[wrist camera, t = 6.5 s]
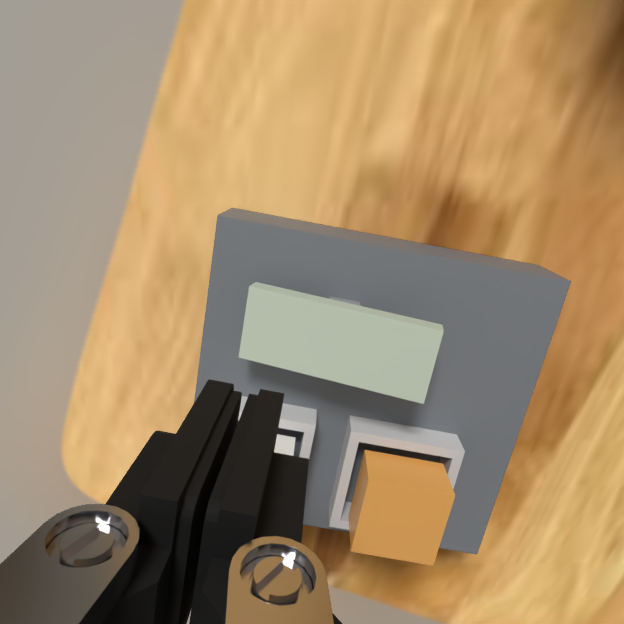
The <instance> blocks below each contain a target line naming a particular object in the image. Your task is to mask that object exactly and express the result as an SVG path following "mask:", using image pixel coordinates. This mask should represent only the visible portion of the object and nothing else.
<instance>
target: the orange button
mask: <svg viewBox="0 0 624 624" xmlns="http://www.w3.org/2000/svg"><path fill="white" fill-rule="evenodd" d="M454 499H455V493H454V491H453V488H452V485H451V483H450V480H449V477H448V475H447V472H446V470H445V467H444V464H443V463H437V462H432V461H426V460H420V459H415V458H409V457H403V456H398V455H392V454H386V453H381V452H375V451H369V450H364V454H363V459H362V463H361V467H360V471H359V475H358V479H357V483H356V487H355V491H354V495H353V500H352V504H351V508H350V512H349V532H350V549H351V552H356V553H362V554H368V555H374V556H379V557H385V558H391V559H397V560H403V561H408V562H414V563H420V564H426V565H432V566H433V565H434V562H435V559H436V556H437V552H438V549H439V546H440V543H441V540H442V537H443V533H444V530H445V527H446V524H447V521H448V518H449V514H450V511H451V508H452V505H453V502H454Z"/></svg>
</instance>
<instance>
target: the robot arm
mask: <svg viewBox="0 0 624 624" xmlns="http://www.w3.org/2000/svg"><path fill="white" fill-rule="evenodd" d="M284 394H285V393H280V392H275V391H269V390H264V389H260V391H259V394H258V395H255V394H249V395H248V398H247V401H246V403H245V406H244V409H243V411H242V414H241V417H240V419H239V422H238V418H239V411H240V405H241V398H242V392H239V391H234V384H232V383H226V382H221V381H216V380H210V379H209V380H208V381H207V382H206V384H205V386H204V388H203V389H202V391H201V393H200V394H199V396H198V398H197V399H196V401H195V403H194V405H193V406H192V408H191V410H190V411H189V413H188V415H187V416H186V418H185V420H184V421H183V423H182V425H181V427H180V428H179V430H178V432H177V433H176V434H173V433H168V432H162V431H155V432H154V433H153V435H152V436H151V437H150V439H149V440H148V442H147V443H146V445H145V446H144V448H143V449H142V451H141V452H140V454H139V455H138V457H137V458H136V460H135V461H134V463H133V464H132V466H131V467H130V469H129V470H128V471H127V473H126V474H125V476H124V477H123V479H122V480H121V482H120V483H119V485H118V486H117V488H116V489H115V491H114V492H113V494H112V495H111V497H110V498H109V500H108V501H107V503H106V504H86V505H81V506H77V507H72V508H69V509H67V510H65V511H63V512H60V513H58V514H56V515H55V516H53V517H52V518H50V519H49V520H48V521H46V522H45V523H44V524H43V525H42V526H40V527H39V528H38V529H37V530H36V531H35V532H34V533H33V534H32V535H31V536H30V537H29V538H28V539H27V540H25V541H24V542H23V543H22V544H21V545H20V546H19V547H18V548H17V549H16V550H15V551H14V552H13V553H12V554H10V555H9V556H8V557H7V558H6V559H5V560H4V561H3V562H2V563H1V564H0V624H186V623H187V620H188V617H189V614H190V611H191V617H190V624H342V623H341V622H340V621H339V620H338V619H337V618H336V616H335V615H334V614H333V613H332V609H331V602H330V596H329V589H328V583H327V577H326V573H325V570H324V567H323V564H322V562H321V561H320V560H319V558H318V557H317V556H316V554H315V553H314V552H313V551H311V550H310V549H309V548H307V547H306V546H305V545H303V544H301V540H302V529H303V518H304V508H305V497H306V486H307V475H308V464H309V459H307V458H302V457H297V456H291V455H286V454H280V453H275V452H274V449H275V444H276V438H277V433H278V427H279V422H280V416H281V411H282V405H283V400H284ZM191 608H192V609H191Z"/></svg>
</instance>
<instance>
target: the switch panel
mask: <svg viewBox="0 0 624 624" xmlns="http://www.w3.org/2000/svg"><path fill="white" fill-rule="evenodd" d="M255 282H259V283H263V284H267V285H272V286H276V287H280V288H285V289H289V290H293V291H298V292H302V293H307V294H311V295H315V296H320V297H324V298H328V299H333V300H337V301H341V302H346V303H350V304H355V305H359V306H363V307H368V308H372V309H376V310H381V311H385V312H389V313H394V314H398V315H402V316H407V317H411V318H416V319H420V320H424V321H429V322H433V323H437V324H442V325H443V330H444V332H443V336H442V340H441V343H440V347H439V350H438V354H437V358H436V361H435V365H434V369H433V372H432V376H431V379H430V383H429V387H428V390H427V394H426V398H425V401H424V404H421V403H418V402H414V401H410V400H406V399H402V398H398V397H394V396H390V395H386V394H382V393H378V392H374V391H370V390H366V389H362V388H358V387H354V386H350V385H346V384H342V383H338V382H334V381H330V380H326V379H322V378H318V377H314V376H310V375H306V374H302V373H298V372H294V371H291V370H287V369H283V368H279V367H275V366H271V365H267V364H263V363H259V362H255V361H251V360H247V359H243V358H239V351H240V344H241V337H242V331H243V324H244V317H245V311H246V304H247V297H248V291H249V286H250V285H252V284H253V283H255ZM570 283H571V281H569V280H567V279H565V278H563V277H561V276H559V275H557V274H555V273H553V272H551V271H549V270H547V269H545V268H543V267H541V266H539V265H534V264H529V263H524V262H518V261H513V260H508V259H502V258H497V257H492V256H486V255H481V254H476V253H470V252H465V251H460V250H454V249H449V248H444V247H438V246H433V245H428V244H422V243H417V242H412V241H406V240H401V239H396V238H390V237H385V236H380V235H374V234H369V233H364V232H358V231H353V230H348V229H342V228H337V227H332V226H326V225H321V224H316V223H310V222H305V221H300V220H294V219H289V218H284V217H278V216H273V215H268V214H262V213H257V212H252V211H246V210H241V209H236V208H231V209H229V210H227V211H225V212H223V213H221V214H219V215H218V217H217V225H216V233H215V241H214V249H213V257H212V265H211V273H210V281H209V289H208V297H207V305H206V313H205V321H204V329H203V337H202V345H201V353H200V361H199V369H198V377H197V385H196V393H195V401H196V399H197V398H198V396H199V394H200V393H201V391H202V389H203V388H204V386H205V384H206V382H207V381H208V380H209V379H210V380H216V381H221V382H226V383H232V384H234V391H239V392H242V398H241V405H240V411H239V418H238V422H239V419H240V417H241V414H242V411H243V409H244V406H245V403H246V401H247V398H248V395H249V394H255V395H258V394H259V391H260V389H264V390H269V391H275V392H280V393H285V394H284V400H283V405H282V411H281V416H280V422H279V427H278V433H277V434H279V435H285V436H290V437H296V438H295V447H294V456H297V457H302V458H307V459H309V464H308V475H307V486H306V497H305V508H304V518H303V525H309V526H315V527H320V528H326V529H332V530H338V531H344V532H349V512H350V508H351V504H352V500H353V495H354V491H355V487H356V483H357V479H358V475H359V471H360V467H361V463H362V459H363V454H364V450H369V451H375V452H381V453H386V454H392V455H398V456H403V457H409V458H415V459H420V460H426V461H432V462H437V463H443V464H444V467H445V470H446V472H447V475H448V477H449V480H450V483H451V485H452V488H453V491H454V493H455V499H454V502H453V505H452V508H451V511H450V514H449V518H448V521H447V524H446V527H445V530H444V533H443V537H442V540H441V543H440V546H439V548H442V549H448V550H453V551H459V552H465V553H471V554H477V553H478V550H479V547H480V544H481V542H482V539H483V536H484V533H485V530H486V527H487V524H488V521H489V518H490V515H491V512H492V510H493V507H494V504H495V501H496V498H497V495H498V492H499V489H500V486H501V483H502V481H503V478H504V475H505V472H506V469H507V466H508V463H509V460H510V457H511V454H512V452H513V449H514V446H515V443H516V440H517V437H518V434H519V431H520V428H521V425H522V423H523V420H524V417H525V414H526V411H527V408H528V405H529V402H530V399H531V396H532V394H533V391H534V388H535V385H536V382H537V379H538V376H539V373H540V370H541V367H542V365H543V362H544V359H545V356H546V353H547V350H548V347H549V344H550V341H551V338H552V335H553V333H554V330H555V327H556V324H557V321H558V318H559V315H560V312H561V309H562V306H563V304H564V301H565V298H566V295H567V292H568V289H569V286H570ZM195 401H194V403H195ZM349 533H350V532H349Z"/></svg>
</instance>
